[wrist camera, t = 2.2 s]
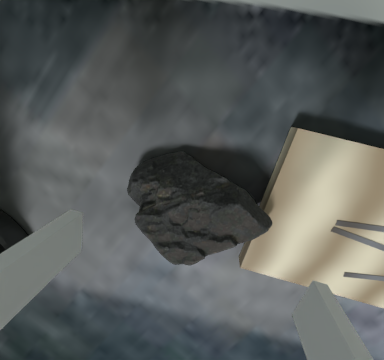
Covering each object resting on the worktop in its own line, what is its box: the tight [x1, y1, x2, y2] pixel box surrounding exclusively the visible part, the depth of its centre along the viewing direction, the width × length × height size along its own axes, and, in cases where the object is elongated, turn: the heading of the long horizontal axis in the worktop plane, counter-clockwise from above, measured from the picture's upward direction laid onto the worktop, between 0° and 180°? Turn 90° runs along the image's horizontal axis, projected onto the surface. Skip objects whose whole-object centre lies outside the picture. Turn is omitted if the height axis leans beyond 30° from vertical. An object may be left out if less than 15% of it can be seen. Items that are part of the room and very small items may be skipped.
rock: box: [127, 151, 272, 266], centre depth 17 cm, size 10×6×10 cm
